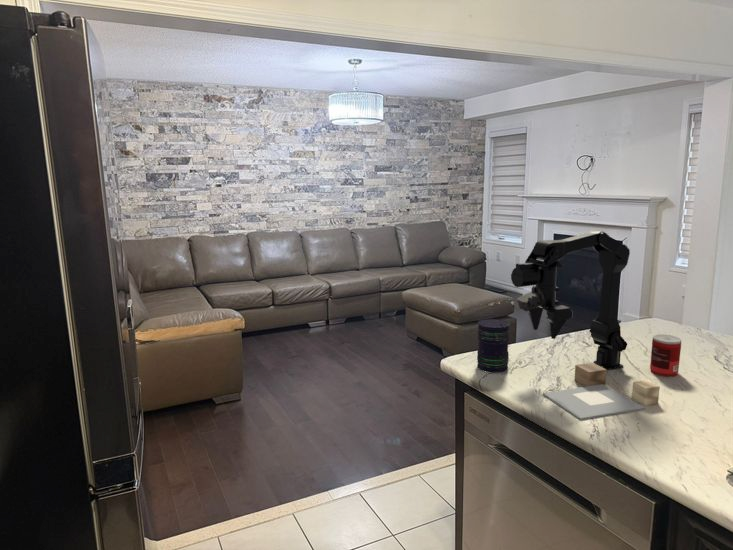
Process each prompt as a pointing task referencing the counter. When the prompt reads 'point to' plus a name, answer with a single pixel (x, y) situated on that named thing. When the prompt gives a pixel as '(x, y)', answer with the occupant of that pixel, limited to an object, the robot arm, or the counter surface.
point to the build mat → (593, 401)
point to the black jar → (493, 345)
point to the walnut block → (590, 374)
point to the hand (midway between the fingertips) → (544, 333)
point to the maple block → (645, 392)
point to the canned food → (665, 355)
